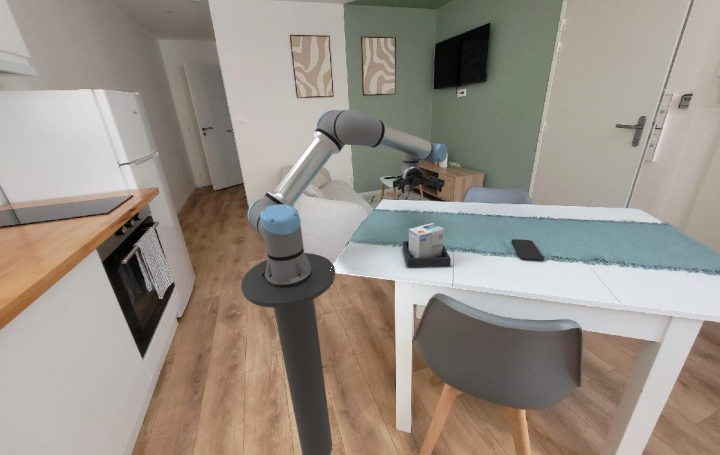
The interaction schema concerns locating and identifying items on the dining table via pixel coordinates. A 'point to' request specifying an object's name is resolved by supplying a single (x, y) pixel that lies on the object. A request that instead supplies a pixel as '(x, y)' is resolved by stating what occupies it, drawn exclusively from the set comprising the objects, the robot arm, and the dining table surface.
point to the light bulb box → (426, 241)
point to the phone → (527, 250)
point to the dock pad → (426, 259)
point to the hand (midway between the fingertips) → (422, 189)
